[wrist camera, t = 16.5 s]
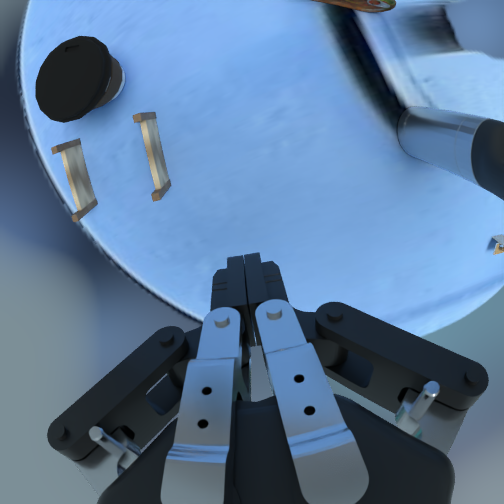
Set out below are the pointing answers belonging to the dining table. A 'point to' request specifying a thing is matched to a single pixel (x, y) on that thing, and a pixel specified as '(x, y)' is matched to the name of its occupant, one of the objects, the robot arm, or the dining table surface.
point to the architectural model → (498, 244)
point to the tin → (364, 4)
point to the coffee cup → (78, 79)
